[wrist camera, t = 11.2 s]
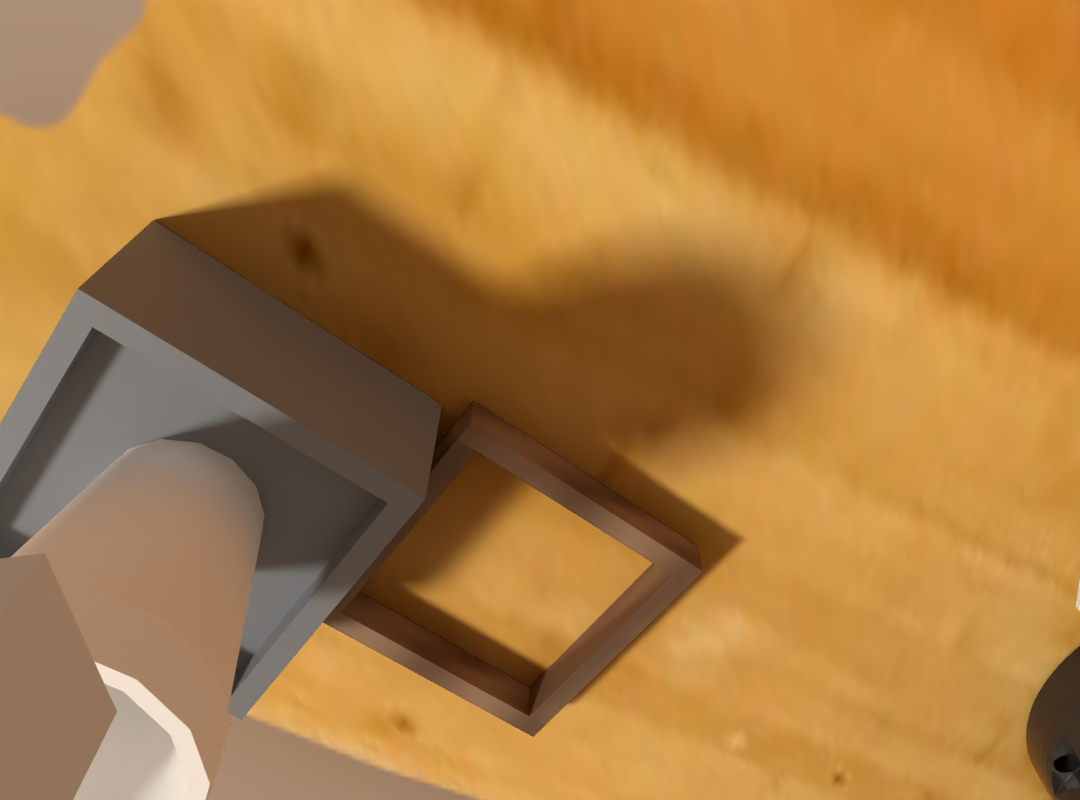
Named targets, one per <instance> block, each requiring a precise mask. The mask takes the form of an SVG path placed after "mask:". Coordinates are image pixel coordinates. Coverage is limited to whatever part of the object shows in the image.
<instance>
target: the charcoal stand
mask: <svg viewBox="0 0 1080 800" xmlns="http://www.w3.org/2000/svg"><path fill="white" fill-rule="evenodd" d="M441 408H442V404H440V403H438V402H437V401H435V400H434V399H432V398H431V397H429V396H428V395H426V394H424V393H423V392H421V391H420V390H418V389H417V388H415V387H413V386H412V385H410V384H409V383H407V382H406V381H404V380H403V379H401V378H399V377H398V376H396V375H395V374H393V373H392V372H390V371H389V370H387V369H385V368H384V367H382V366H381V365H379V364H378V363H376V362H374V361H373V360H371V359H370V358H368V357H367V356H365V355H364V354H362V353H360V352H359V351H357V350H356V349H354V348H353V347H351V346H349V345H348V344H346V343H345V342H343V341H342V340H340V339H339V338H337V337H335V336H334V335H332V334H331V333H329V332H328V331H326V330H325V329H323V328H321V327H320V326H318V325H317V324H315V323H314V322H312V321H310V320H309V319H307V318H306V317H304V316H303V315H301V314H300V313H298V312H296V311H295V310H293V309H292V308H290V307H289V306H287V305H286V304H284V303H282V302H281V301H279V300H278V299H276V298H275V297H273V296H271V295H270V294H268V293H267V292H265V291H264V290H262V289H261V288H259V287H257V286H256V285H254V284H253V283H251V282H250V281H248V280H246V279H245V278H243V277H242V276H240V275H239V274H237V273H236V272H234V271H232V270H231V269H229V268H228V267H226V266H225V265H223V264H222V263H220V262H218V261H217V260H215V259H214V258H212V257H211V256H209V255H207V254H206V253H204V252H203V251H201V250H200V249H198V248H197V247H195V246H193V245H192V244H190V243H189V242H187V241H186V240H184V239H183V238H181V237H179V236H178V235H176V234H175V233H173V232H172V231H170V230H168V229H167V228H165V227H164V226H162V225H161V224H159V223H158V222H156V221H154V220H153V221H152V222H151V223H150V224H149V225H148V226H146V227H145V228H144V229H143V230H142V231H141V232H140V233H139V234H138V235H137V236H135V237H134V238H133V239H132V240H131V241H130V242H129V243H128V244H127V245H125V246H124V247H123V248H122V249H121V250H120V251H119V252H118V253H117V254H116V255H114V256H113V257H112V258H111V259H110V260H109V261H108V262H107V263H106V264H104V265H103V266H102V267H101V268H100V269H99V270H98V271H97V272H96V273H95V274H93V275H92V276H91V277H90V278H89V279H88V280H87V281H86V282H85V283H83V284H82V285H81V286H80V287H79V288H78V289H77V291H76V293H75V294H74V296H73V298H72V300H71V301H70V303H69V305H68V307H67V308H66V310H65V312H64V313H63V315H62V317H61V319H60V320H59V322H58V324H57V326H56V327H55V329H54V331H53V333H52V334H51V336H50V338H49V340H48V341H47V343H46V345H45V347H44V348H43V350H42V352H41V354H40V355H39V357H38V359H37V361H36V362H35V364H34V366H33V367H32V369H31V371H30V373H29V374H28V376H27V378H26V380H25V381H24V383H23V385H22V387H21V388H20V390H19V392H18V394H17V395H16V397H15V399H14V401H13V402H12V404H11V406H10V408H9V409H8V411H7V413H6V415H5V416H4V418H3V420H2V421H1V423H0V559H1V558H10V557H11V556H12V555H13V554H14V553H16V552H17V551H18V550H19V549H20V548H21V547H22V546H23V545H24V544H25V543H26V542H27V541H29V540H30V539H31V538H32V537H33V536H34V535H35V534H36V533H37V532H38V531H39V530H40V529H42V528H43V527H44V526H45V525H46V524H47V523H48V522H49V521H50V520H51V519H52V518H53V517H55V516H56V515H57V514H58V513H59V512H60V511H61V510H62V509H63V508H64V507H65V506H66V505H68V504H69V503H70V502H71V501H72V500H73V499H74V498H75V497H76V496H77V495H78V494H79V493H81V492H82V491H83V490H84V489H85V488H86V487H87V486H88V485H89V484H90V483H91V482H92V481H94V480H95V479H96V478H97V477H98V476H99V475H100V474H101V473H102V472H103V471H104V470H105V469H106V468H108V467H109V466H110V465H111V464H112V463H113V462H114V461H115V460H116V459H117V458H118V457H119V456H122V455H123V454H124V453H125V452H126V451H127V450H128V449H130V448H133V447H137V446H140V445H143V444H146V443H149V442H153V441H156V440H159V439H167V440H177V441H187V442H197V443H200V444H202V445H204V446H206V447H208V448H210V449H212V450H214V451H216V452H218V453H220V454H222V455H224V456H226V457H228V458H230V459H232V460H233V461H234V462H235V463H236V464H237V465H238V466H239V467H240V468H241V470H242V471H243V472H244V473H245V474H246V475H247V476H248V477H249V479H250V480H251V481H252V482H253V483H254V484H255V485H256V487H257V490H258V494H259V498H260V501H261V505H262V508H263V512H264V516H265V517H264V521H263V530H262V535H261V540H260V546H259V551H258V556H257V561H256V566H255V572H254V577H253V582H252V587H251V592H250V598H249V603H248V608H247V613H246V619H245V624H244V629H243V634H242V639H241V645H240V650H239V655H238V660H237V666H236V671H235V676H234V681H233V686H232V692H231V697H230V702H229V707H228V710H229V713H230V714H232V715H234V716H236V717H238V718H240V719H243V717H244V716H245V715H246V714H247V713H248V711H249V710H250V709H251V708H252V707H253V705H254V704H255V703H256V702H257V701H258V699H259V698H260V697H261V696H262V695H263V693H264V692H265V691H266V690H267V689H268V687H269V686H270V685H271V684H272V683H273V681H274V680H275V679H276V678H277V677H278V675H279V674H280V673H281V672H282V671H283V669H284V668H285V667H286V666H287V665H288V663H289V662H290V661H291V660H292V659H293V657H294V656H295V655H296V654H297V653H298V651H299V650H300V649H301V648H302V647H303V645H304V644H305V643H306V642H307V640H308V639H309V638H310V637H311V636H312V634H313V633H314V632H315V631H316V630H317V628H318V627H319V626H320V625H321V624H322V622H323V621H324V620H325V619H326V618H327V616H328V615H329V614H330V613H331V612H332V610H333V609H334V608H335V607H336V606H337V604H338V603H339V602H340V601H341V600H342V598H343V597H344V596H345V595H346V594H347V592H348V591H349V590H350V589H351V588H352V586H353V585H354V584H355V583H356V582H357V580H358V579H359V578H360V577H361V576H362V574H363V573H364V572H365V571H366V570H367V568H368V567H369V566H370V565H371V564H372V562H373V561H374V560H375V559H376V558H377V556H378V555H379V554H380V553H381V552H382V550H383V549H384V548H385V547H386V546H387V544H388V543H389V542H390V541H391V540H392V538H393V537H394V536H395V535H396V534H397V532H398V531H399V530H400V529H401V528H402V526H403V525H404V524H405V523H406V522H407V520H408V519H409V518H410V517H411V516H412V514H413V513H414V512H415V511H416V510H417V508H418V507H419V506H420V505H421V504H422V502H423V501H424V500H425V498H426V492H427V487H428V481H429V475H430V470H431V464H432V459H433V453H434V447H435V442H436V436H437V431H438V425H439V419H440V414H441Z"/></svg>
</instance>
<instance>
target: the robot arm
mask: <svg viewBox="0 0 1080 800" xmlns="http://www.w3.org/2000/svg"><path fill="white" fill-rule="evenodd" d="M1076 607H1077V609H1078V610H1079V611H1080V580H1079V587H1078V594H1077V602H1076ZM116 713H117V710H116V708H115V706H114V704H113V701H112V699H111V697H110V695H109V693H108V690H107V688H106V686H105V684H104V682H103V679H102V677H101V675H100V673H99V671H98V669H97V666H96V664H95V662H94V660H93V658H92V655H91V653H90V651H89V649H88V647H87V645H86V642H85V640H84V638H83V636H82V634H81V631H80V629H79V627H78V625H77V623H76V621H75V618H74V616H73V614H72V612H71V610H70V607H69V605H68V603H67V601H66V599H65V597H64V594H63V592H62V590H61V588H60V586H59V583H58V581H57V579H56V577H55V575H54V572H53V570H52V568H51V566H50V564H49V562H48V559H47V557H46V555H45V553H43V554H35V555H26V556H18V557H10V558H1V559H0V800H73V799H74V797H75V795H76V793H77V791H78V789H79V787H80V785H81V783H82V781H83V779H84V777H85V775H86V773H87V771H88V769H89V767H90V765H91V763H92V761H93V759H94V757H95V755H96V753H97V751H98V749H99V747H100V745H101V743H102V741H103V739H104V737H105V735H106V733H107V731H108V729H109V727H110V725H111V723H112V721H113V719H114V717H115V715H116ZM1026 741H1027V748H1028V753H1029V756H1030V759H1031V762H1032V764H1033V766H1034V768H1035V770H1036V771H1037V773H1038V775H1039V777H1040V779H1041V780H1042V782H1043V784H1044V786H1045V788H1046V789H1047V791H1048V793H1049V795H1050V796H1051V798H1052V799H1053V800H1080V647H1079V648H1078V649H1077V650H1076V651H1074V652H1073V653H1072V654H1071V655H1070V656H1069V657H1067V658H1066V659H1065V660H1064V661H1063V662H1062V663H1061V664H1060V665H1059V666H1058V667H1057V668H1056V670H1055V671H1054V672H1053V673H1052V674H1051V676H1050V677H1049V678H1048V680H1047V681H1046V682H1045V684H1044V685H1043V687H1042V688H1041V690H1040V692H1039V693H1038V695H1037V697H1036V699H1035V701H1034V704H1033V706H1032V708H1031V712H1030V715H1029V719H1028V723H1027V731H1026Z"/></svg>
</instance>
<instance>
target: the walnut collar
mask: <svg viewBox="0 0 1080 800" xmlns="http://www.w3.org/2000/svg"><path fill="white" fill-rule="evenodd" d="M476 452H478V453H480V454H482V455H483V456H485V457H486V458H488V459H489V460H491V461H493V462H494V463H496V464H497V465H499V466H501V467H502V468H504V469H505V470H507V471H508V472H510V473H512V474H513V475H515V476H516V477H518V478H519V479H521V480H523V481H524V482H526V483H527V484H529V485H531V486H532V487H534V488H535V489H537V490H538V491H540V492H542V493H543V494H545V495H546V496H548V497H550V498H551V499H553V500H554V501H556V502H557V503H559V504H561V505H562V506H564V507H565V508H567V509H569V510H570V511H572V512H573V513H575V514H576V515H578V516H580V517H581V518H583V519H584V520H586V521H587V522H589V523H591V524H592V525H594V526H595V527H597V528H599V529H600V530H602V531H603V532H605V533H606V534H608V535H610V536H611V537H613V538H614V539H616V540H618V541H619V542H621V543H622V544H624V545H625V546H627V547H629V548H630V549H632V550H633V551H635V552H637V553H638V554H640V555H641V556H643V557H644V558H646V559H648V560H649V561H651V562H652V563H653V564H652V565H651V566H650V567H649V568H648V569H647V570H646V571H645V572H644V573H643V574H642V575H641V576H640V577H639V578H638V579H637V580H636V581H635V582H634V583H633V584H632V585H631V586H630V587H629V588H628V589H627V590H626V591H625V592H624V593H623V594H622V595H621V596H620V597H619V598H618V599H617V600H616V601H615V602H614V603H613V604H612V605H611V606H610V607H609V608H608V609H607V610H606V611H605V612H604V613H603V614H602V615H601V616H600V617H599V618H598V619H597V620H596V621H595V622H594V623H593V624H592V625H591V626H590V627H589V628H588V629H587V630H586V631H585V632H584V633H583V634H582V635H581V636H580V637H579V638H578V639H577V640H576V641H575V642H574V643H573V644H572V645H571V646H570V647H569V648H568V649H567V650H566V651H565V652H564V653H563V654H562V655H561V656H560V658H559V659H558V660H557V661H556V662H555V663H554V664H553V665H552V666H551V667H550V668H549V669H548V670H547V671H546V672H545V673H544V674H543V675H542V676H541V677H540V678H539V679H538V680H537V681H536V682H535V683H534V684H533V685H532V686H531V687H530V688H529V687H527V686H526V685H524V684H522V683H520V682H519V681H517V680H515V679H513V678H511V677H510V676H508V675H506V674H504V673H503V672H501V671H499V670H497V669H495V668H494V667H492V666H490V665H488V664H486V663H485V662H483V661H481V660H479V659H478V658H476V657H474V656H472V655H470V654H469V653H467V652H465V651H463V650H462V649H460V648H458V647H456V646H454V645H453V644H451V643H449V642H447V641H446V640H444V639H442V638H440V637H438V636H437V635H435V634H433V633H431V632H429V631H428V630H426V629H424V628H422V627H421V626H419V625H417V624H415V623H413V622H412V621H410V620H408V619H406V618H405V617H403V616H401V615H399V614H397V613H396V612H394V611H392V610H390V609H388V608H387V607H385V606H383V605H381V604H380V603H378V602H376V601H374V600H372V599H371V598H369V597H367V596H365V595H364V594H362V593H360V592H359V591H360V590H361V589H362V588H363V586H364V585H365V584H366V583H367V582H368V581H369V579H370V578H371V577H372V576H373V575H374V573H375V572H376V571H377V570H378V569H379V567H380V566H381V565H382V564H383V563H384V561H385V560H386V559H387V558H388V557H389V555H390V554H391V553H392V552H393V551H394V550H395V548H396V547H397V546H398V545H399V544H400V542H401V541H402V540H403V539H404V538H405V536H406V535H407V534H408V533H409V532H410V530H411V529H412V528H413V527H414V526H415V524H416V523H417V522H418V521H419V520H420V519H421V517H422V516H423V515H424V514H425V513H426V511H427V510H428V509H429V508H430V507H431V505H432V504H433V503H434V502H435V501H436V499H437V498H438V497H439V496H440V495H441V493H442V492H443V491H444V490H445V489H446V488H447V486H448V485H449V484H450V483H451V482H452V480H453V479H454V478H455V477H456V476H457V474H458V473H459V472H460V471H461V470H462V468H463V467H464V466H465V465H466V464H467V463H468V461H469V460H470V459H471V458H472V457H473V455H474V454H475V453H476ZM702 572H703V569H702V565H701V561H700V557H699V553H698V548H697V545H695V544H694V543H692V542H690V541H689V540H687V539H686V538H684V537H683V536H681V535H680V534H678V533H677V532H675V531H673V530H672V529H670V528H669V527H667V526H666V525H664V524H663V523H661V522H660V521H658V520H657V519H655V518H653V517H652V516H650V515H649V514H647V513H646V512H644V511H643V510H641V509H640V508H638V507H637V506H635V505H633V504H632V503H630V502H629V501H627V500H626V499H624V498H623V497H621V496H620V495H618V494H616V493H615V492H613V491H612V490H610V489H609V488H607V487H606V486H604V485H603V484H601V483H600V482H598V481H596V480H595V479H593V478H592V477H590V476H589V475H587V474H586V473H584V472H583V471H581V470H580V469H578V468H576V467H575V466H573V465H572V464H570V463H569V462H567V461H566V460H564V459H563V458H561V457H560V456H558V455H556V454H555V453H553V452H552V451H550V450H549V449H547V448H546V447H544V446H543V445H541V444H539V443H538V442H536V441H535V440H533V439H532V438H530V437H529V436H527V435H526V434H524V433H523V432H521V431H519V430H518V429H516V428H515V427H513V426H512V425H510V424H509V423H507V422H506V421H504V420H503V419H501V418H499V417H498V416H496V415H495V414H493V413H492V412H490V411H489V410H487V409H486V408H484V407H482V406H481V405H479V404H478V403H476V402H475V401H473V402H472V404H471V405H470V406H469V407H468V408H467V410H466V411H465V412H464V413H463V415H462V416H461V417H460V418H459V420H458V421H457V422H456V423H455V424H454V426H453V427H452V428H451V429H450V431H449V432H448V433H447V434H446V435H445V437H444V438H443V439H442V440H441V442H440V443H439V444H438V445H437V447H436V448H435V449H434V453H433V459H432V464H431V470H430V475H429V481H428V487H427V492H426V498H425V500H424V501H423V502H422V504H421V505H420V506H419V507H418V508H417V510H416V511H415V512H414V513H413V514H412V516H411V517H410V518H409V519H408V520H407V522H406V523H405V524H404V525H403V526H402V528H401V529H400V530H399V531H398V532H397V534H396V535H395V536H394V537H393V538H392V540H391V541H390V542H389V543H388V544H387V546H386V547H385V548H384V549H383V550H382V552H381V553H380V554H379V555H378V556H377V558H376V559H375V560H374V561H373V562H372V564H371V565H370V566H369V567H368V568H367V570H366V571H365V572H364V573H363V574H362V576H361V577H360V578H359V579H358V580H357V582H356V583H355V584H354V585H353V586H352V588H351V589H350V590H349V591H348V592H347V594H346V595H345V596H344V597H343V598H342V600H341V601H340V602H339V603H338V604H337V606H336V607H335V608H334V609H333V610H332V612H331V613H330V614H329V615H328V616H327V618H326V619H325V620H324V621H323V623H325V624H327V625H329V626H331V627H333V628H334V629H336V630H338V631H340V632H342V633H344V634H345V635H347V636H349V637H351V638H353V639H355V640H356V641H358V642H360V643H362V644H364V645H366V646H367V647H369V648H371V649H373V650H375V651H377V652H379V653H380V654H382V655H384V656H386V657H388V658H390V659H391V660H393V661H395V662H397V663H399V664H401V665H402V666H404V667H406V668H408V669H410V670H412V671H413V672H415V673H417V674H419V675H421V676H423V677H424V678H426V679H428V680H430V681H432V682H434V683H435V684H437V685H439V686H441V687H443V688H445V689H446V690H448V691H450V692H452V693H454V694H456V695H457V696H459V697H461V698H463V699H465V700H467V701H468V702H470V703H472V704H474V705H476V706H478V707H480V708H481V709H483V710H485V711H487V712H489V713H491V714H492V715H494V716H496V717H498V718H500V719H502V720H503V721H505V722H507V723H509V724H511V725H513V726H514V727H516V728H518V729H520V730H522V731H524V732H525V733H527V734H529V735H531V736H533V737H534V736H535V735H536V734H537V733H538V732H539V731H540V730H541V729H542V728H543V727H544V726H545V725H546V724H547V723H548V722H549V721H550V720H551V719H552V718H553V717H554V716H555V715H556V714H557V713H558V712H559V711H560V710H561V709H562V708H563V707H564V706H565V705H567V704H568V703H569V702H570V701H571V700H572V699H573V698H574V697H575V696H576V695H577V694H578V693H579V692H580V691H581V690H582V689H583V688H584V687H585V686H586V685H587V684H588V683H589V682H590V681H591V680H592V679H593V678H594V677H595V676H596V675H597V674H598V673H599V672H600V671H601V670H602V669H603V668H605V667H606V666H607V665H608V664H609V663H610V662H611V661H612V660H613V659H614V658H615V657H616V656H617V655H618V654H619V653H620V652H621V651H622V650H623V649H624V648H625V647H626V646H627V645H628V644H629V643H630V642H631V641H632V640H633V639H634V638H635V637H636V636H637V635H638V634H639V633H640V632H641V631H642V630H644V629H645V628H646V627H647V626H648V625H649V624H650V623H651V622H652V621H653V620H654V619H655V618H656V617H657V616H658V615H659V614H660V613H661V612H662V611H663V610H664V609H665V608H666V607H667V606H668V605H669V604H670V603H671V602H672V601H673V600H674V599H675V598H676V597H677V596H678V595H679V594H680V593H682V592H683V591H684V590H685V589H686V588H687V587H688V586H689V585H690V584H691V583H692V582H693V581H694V580H695V579H696V578H697V577H698V576H699V575H700V574H701V573H702Z"/></svg>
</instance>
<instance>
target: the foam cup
mask: <svg viewBox="0 0 1080 800" xmlns="http://www.w3.org/2000/svg"><path fill="white" fill-rule="evenodd" d="M264 517H265V516H264V512H263V508H262V505H261V501H260V498H259V494H258V490H257V487H256V485H255V484H254V483H253V482H252V481H251V480H250V479H249V477H248V476H247V475H246V474H245V473H244V472H243V471H242V470H241V468H240V467H239V466H238V465H237V464H236V463H235V462H234V461H233V460H232V459H230V458H228V457H226V456H224V455H222V454H220V453H218V452H216V451H214V450H212V449H210V448H208V447H206V446H204V445H202V444H200V443H197V442H187V441H177V440H167V439H159V440H156V441H153V442H149V443H146V444H143V445H140V446H137V447H133V448H130V449H128V450H127V451H126V452H125V453H124V454H123V455H122V456H119V457H118V458H117V459H116V460H115V461H114V462H113V463H112V464H111V465H110V466H109V467H108V468H106V469H105V470H104V471H103V472H102V473H101V474H100V475H99V476H98V477H97V478H96V479H95V480H94V481H92V482H91V483H90V484H89V485H88V486H87V487H86V488H85V489H84V490H83V491H82V492H81V493H79V494H78V495H77V496H76V497H75V498H74V499H73V500H72V501H71V502H70V503H69V504H68V505H66V506H65V507H64V508H63V509H62V510H61V511H60V512H59V513H58V514H57V515H56V516H55V517H53V518H52V519H51V520H50V521H49V522H48V523H47V524H46V525H45V526H44V527H43V528H42V529H40V530H39V531H38V532H37V533H36V534H35V535H34V536H33V537H32V538H31V539H30V540H29V541H27V542H26V543H25V544H24V545H23V546H22V547H21V548H20V549H19V550H18V551H17V552H16V553H14V554H13V555H12V556H11V557H18V556H26V555H35V554H43V553H45V555H46V557H47V559H48V562H49V564H50V566H51V568H52V570H53V572H54V575H55V577H56V579H57V581H58V583H59V586H60V588H61V590H62V592H63V594H64V597H65V599H66V601H67V603H68V605H69V607H70V610H71V612H72V614H73V616H74V618H75V621H76V623H77V625H78V627H79V629H80V631H81V634H82V636H83V638H84V640H85V642H86V645H87V647H88V649H89V651H90V653H91V655H92V658H93V660H94V662H95V664H96V666H97V669H98V671H99V673H100V675H101V677H102V679H103V682H104V684H105V686H106V688H107V690H108V693H109V695H110V697H111V699H112V701H113V704H114V706H115V708H116V710H117V713H116V715H115V717H114V719H113V721H112V723H111V725H110V727H109V729H108V731H107V733H106V735H105V737H104V739H103V741H102V743H101V745H100V747H99V749H98V751H97V753H96V755H95V757H94V759H93V761H92V763H91V765H90V767H89V769H88V771H87V773H86V775H85V777H84V779H83V781H82V783H81V785H80V787H79V789H78V791H77V793H76V795H75V797H74V799H73V800H208V797H209V794H210V791H211V789H212V786H213V783H214V780H215V777H216V775H217V772H218V769H219V765H220V762H221V759H222V755H223V752H224V749H225V745H226V742H227V738H228V735H229V731H230V728H231V725H232V719H231V716H230V713H229V710H228V707H229V702H230V697H231V692H232V686H233V681H234V676H235V671H236V666H237V660H238V655H239V650H240V645H241V639H242V634H243V629H244V624H245V619H246V613H247V608H248V603H249V598H250V592H251V587H252V582H253V577H254V572H255V566H256V561H257V556H258V551H259V546H260V540H261V535H262V530H263V521H264Z"/></svg>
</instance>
